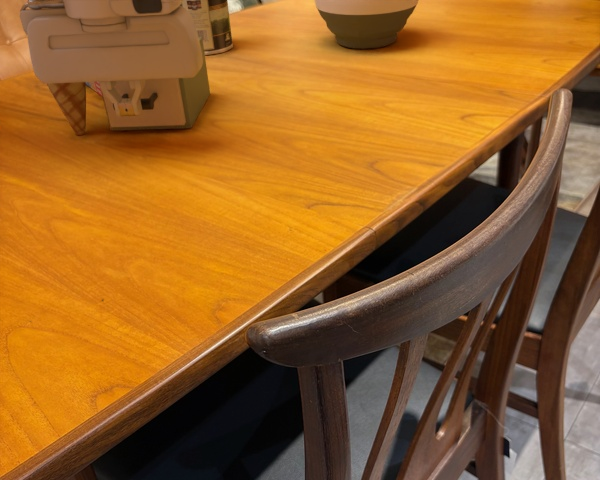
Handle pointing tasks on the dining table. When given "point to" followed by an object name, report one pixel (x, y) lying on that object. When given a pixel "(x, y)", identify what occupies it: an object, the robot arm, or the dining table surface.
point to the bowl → (365, 20)
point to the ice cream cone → (72, 103)
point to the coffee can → (211, 24)
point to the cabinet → (185, 98)
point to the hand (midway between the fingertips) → (129, 114)
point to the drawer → (150, 104)
